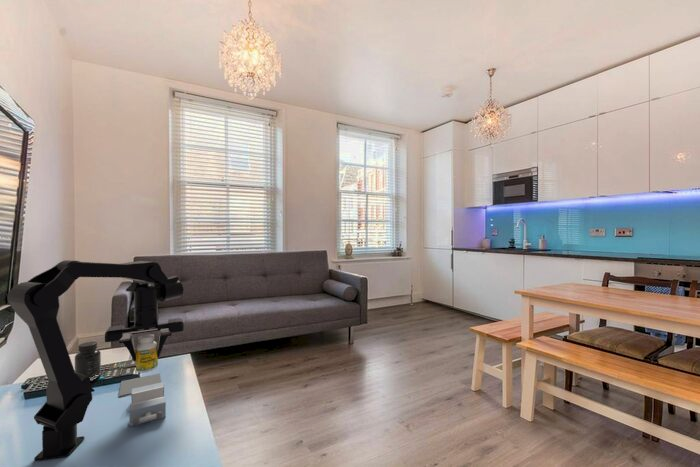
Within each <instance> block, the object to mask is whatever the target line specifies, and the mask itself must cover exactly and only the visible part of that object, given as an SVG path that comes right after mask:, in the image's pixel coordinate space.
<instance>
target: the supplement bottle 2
mask: <svg viewBox="0 0 700 467" xmlns="http://www.w3.org/2000/svg"><path fill="white" fill-rule="evenodd" d="M135 352H136V361H135V371H136V372H137V373H138V374H139V373H140V374H142V373H143V374H144V373H149V372H153V371H154V370H156V369H157V368H158V367H159V357H158V342H156V341H155V334H151V333H148V334H143V335H140V336H138V338H137V345H135Z"/></svg>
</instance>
